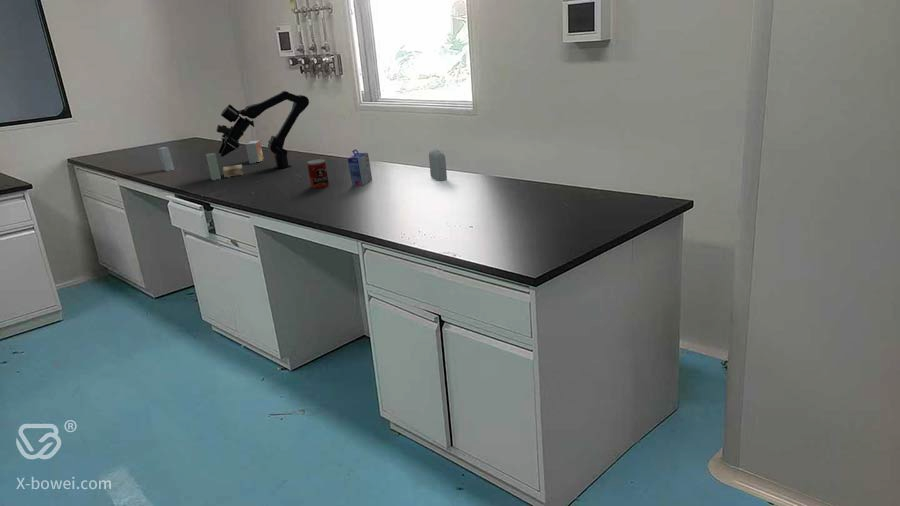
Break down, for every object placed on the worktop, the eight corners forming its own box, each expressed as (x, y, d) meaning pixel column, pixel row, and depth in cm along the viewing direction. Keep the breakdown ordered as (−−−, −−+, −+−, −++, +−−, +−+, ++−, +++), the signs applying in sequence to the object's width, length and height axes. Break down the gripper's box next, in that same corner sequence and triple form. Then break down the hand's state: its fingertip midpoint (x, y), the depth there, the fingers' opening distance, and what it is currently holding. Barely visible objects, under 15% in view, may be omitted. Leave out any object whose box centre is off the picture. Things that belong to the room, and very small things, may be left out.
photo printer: (448, 180, 264) (446, 150, 260) (439, 181, 263) (436, 152, 258) (438, 175, 273) (435, 147, 269) (429, 177, 272) (426, 148, 267)
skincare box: (174, 170, 335) (169, 147, 330) (166, 171, 332) (160, 149, 328) (171, 168, 339) (165, 146, 335) (162, 170, 337) (157, 148, 332)
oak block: (243, 172, 316) (241, 164, 315) (243, 175, 308) (242, 167, 307) (224, 175, 314) (222, 167, 312) (224, 178, 306) (223, 170, 304)
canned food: (314, 189, 269) (309, 164, 265) (309, 186, 275) (304, 161, 271) (331, 186, 272) (327, 161, 268) (325, 182, 278) (322, 158, 275)
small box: (259, 162, 334) (255, 143, 330) (249, 163, 334) (245, 144, 330) (264, 159, 341) (260, 140, 337) (253, 160, 341) (250, 141, 338)
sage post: (219, 177, 308) (214, 152, 304) (221, 179, 304) (215, 154, 300) (211, 178, 307) (205, 154, 303) (212, 180, 303) (206, 155, 298)
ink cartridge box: (361, 180, 278) (356, 147, 273) (372, 180, 276) (368, 147, 271) (351, 186, 269) (346, 152, 264) (362, 186, 267) (358, 152, 262)
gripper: (222, 116, 307) (203, 142, 307) (226, 120, 291) (207, 147, 291) (242, 130, 313) (223, 155, 313) (247, 134, 297) (228, 161, 297)
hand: (220, 154), depth 303 cm, fingers open, 9 cm apart
